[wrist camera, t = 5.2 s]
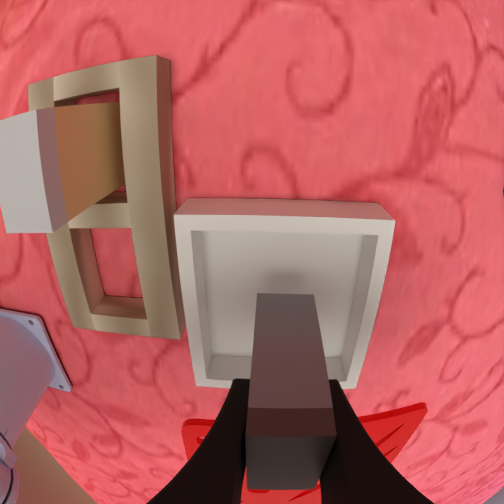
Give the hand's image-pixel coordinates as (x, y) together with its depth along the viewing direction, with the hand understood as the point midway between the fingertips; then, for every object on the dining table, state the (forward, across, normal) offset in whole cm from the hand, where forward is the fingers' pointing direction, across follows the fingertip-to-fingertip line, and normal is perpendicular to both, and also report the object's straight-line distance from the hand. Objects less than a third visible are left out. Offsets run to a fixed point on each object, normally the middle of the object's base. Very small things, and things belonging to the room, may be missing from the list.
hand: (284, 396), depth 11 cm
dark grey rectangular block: (+4, 0, 0) cm, 4 cm away
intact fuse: (+7, +9, -8) cm, 14 cm away
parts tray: (+7, 0, 0) cm, 7 cm away
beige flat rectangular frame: (+7, +9, -5) cm, 12 cm away
